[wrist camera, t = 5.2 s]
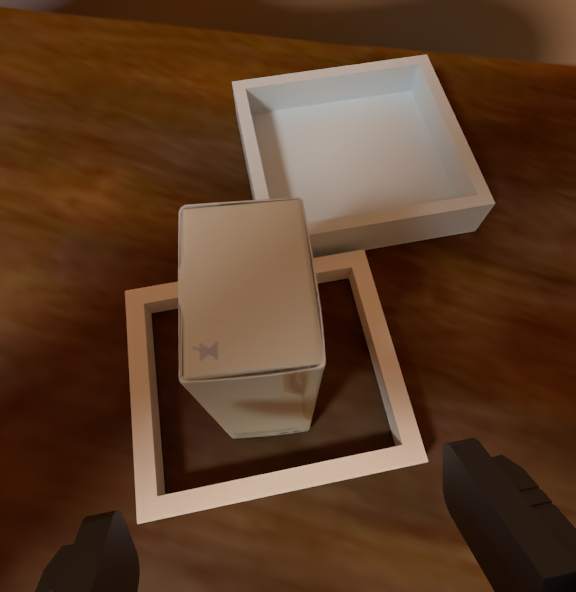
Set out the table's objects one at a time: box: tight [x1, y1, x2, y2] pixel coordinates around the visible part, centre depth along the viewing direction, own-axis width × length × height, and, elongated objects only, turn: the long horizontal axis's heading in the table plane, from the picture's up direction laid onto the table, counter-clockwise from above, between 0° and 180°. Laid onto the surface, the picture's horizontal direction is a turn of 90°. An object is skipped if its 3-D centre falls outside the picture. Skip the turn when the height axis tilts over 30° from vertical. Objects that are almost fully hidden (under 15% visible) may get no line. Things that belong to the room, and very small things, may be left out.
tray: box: [232, 55, 495, 258], centre depth 29 cm, size 13×14×3 cm
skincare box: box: [178, 198, 326, 438], centre depth 19 cm, size 6×4×12 cm
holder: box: [125, 249, 428, 524], centre depth 24 cm, size 12×14×2 cm
